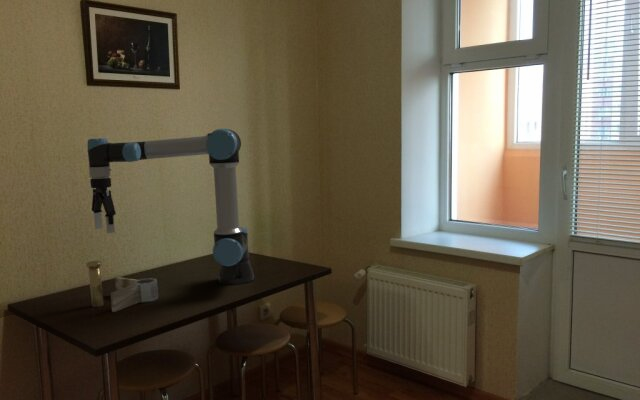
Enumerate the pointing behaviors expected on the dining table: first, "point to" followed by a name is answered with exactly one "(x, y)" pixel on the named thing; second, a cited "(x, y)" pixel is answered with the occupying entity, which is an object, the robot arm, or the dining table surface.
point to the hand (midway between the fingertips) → (104, 230)
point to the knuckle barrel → (147, 289)
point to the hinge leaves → (124, 294)
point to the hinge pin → (95, 283)
